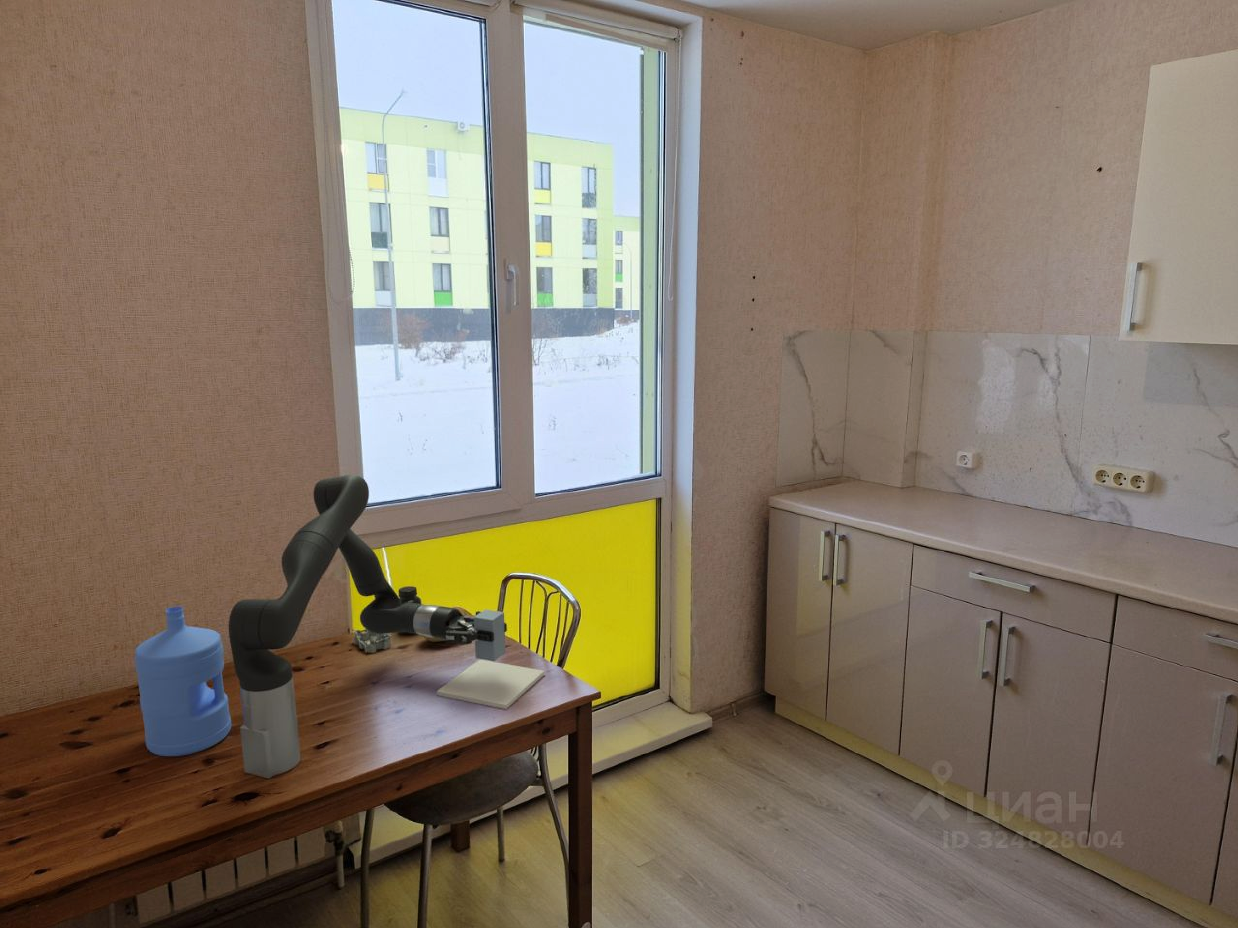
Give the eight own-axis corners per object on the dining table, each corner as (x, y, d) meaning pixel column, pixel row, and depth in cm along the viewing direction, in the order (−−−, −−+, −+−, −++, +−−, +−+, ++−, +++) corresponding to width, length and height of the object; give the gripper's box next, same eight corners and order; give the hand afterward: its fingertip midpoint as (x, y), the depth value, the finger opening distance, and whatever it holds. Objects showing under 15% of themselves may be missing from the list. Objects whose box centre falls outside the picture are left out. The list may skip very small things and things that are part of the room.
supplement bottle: (426, 626, 223) (424, 584, 220) (418, 635, 216) (415, 593, 214) (402, 625, 223) (400, 584, 221) (393, 635, 217) (390, 592, 214)
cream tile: (506, 709, 176) (506, 704, 175) (437, 695, 182) (437, 691, 182) (544, 674, 192) (544, 670, 192) (479, 663, 199) (479, 659, 198)
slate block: (494, 661, 183) (492, 620, 181) (475, 657, 185) (473, 617, 183) (505, 652, 187) (504, 612, 185) (487, 649, 189) (485, 609, 187)
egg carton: (351, 643, 213) (350, 628, 212) (378, 635, 217) (377, 621, 216) (366, 655, 204) (364, 640, 204) (394, 648, 209) (393, 633, 208)
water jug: (136, 764, 156) (117, 628, 151) (158, 724, 171) (142, 600, 166) (223, 751, 160) (208, 619, 155) (238, 714, 175) (224, 592, 170)
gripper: (418, 618, 183) (482, 628, 177) (453, 596, 196) (514, 606, 189) (420, 648, 184) (484, 660, 178) (455, 625, 197) (516, 635, 191)
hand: (499, 632), depth 184 cm, fingers closed on slate block, 5 cm apart
